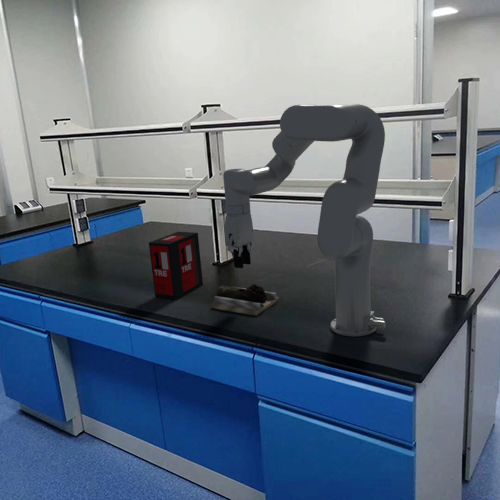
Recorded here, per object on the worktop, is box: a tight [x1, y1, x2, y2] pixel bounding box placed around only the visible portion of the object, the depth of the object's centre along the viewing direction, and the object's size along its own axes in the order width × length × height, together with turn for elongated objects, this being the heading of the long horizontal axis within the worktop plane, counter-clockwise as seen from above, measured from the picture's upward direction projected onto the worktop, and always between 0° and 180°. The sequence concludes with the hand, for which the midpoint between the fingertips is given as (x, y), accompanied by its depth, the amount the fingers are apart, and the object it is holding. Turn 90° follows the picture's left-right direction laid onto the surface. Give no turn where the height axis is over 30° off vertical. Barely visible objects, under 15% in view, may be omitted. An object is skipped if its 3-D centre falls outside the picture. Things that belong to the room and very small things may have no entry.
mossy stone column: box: [216, 283, 267, 303], centre depth 164 cm, size 18×7×6 cm, turn 56°
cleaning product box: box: [148, 231, 204, 301], centre depth 180 cm, size 16×9×20 cm, turn 151°
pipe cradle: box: [211, 286, 280, 317], centre depth 165 cm, size 17×14×3 cm
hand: (242, 265), depth 162 cm, fingers open, 3 cm apart
